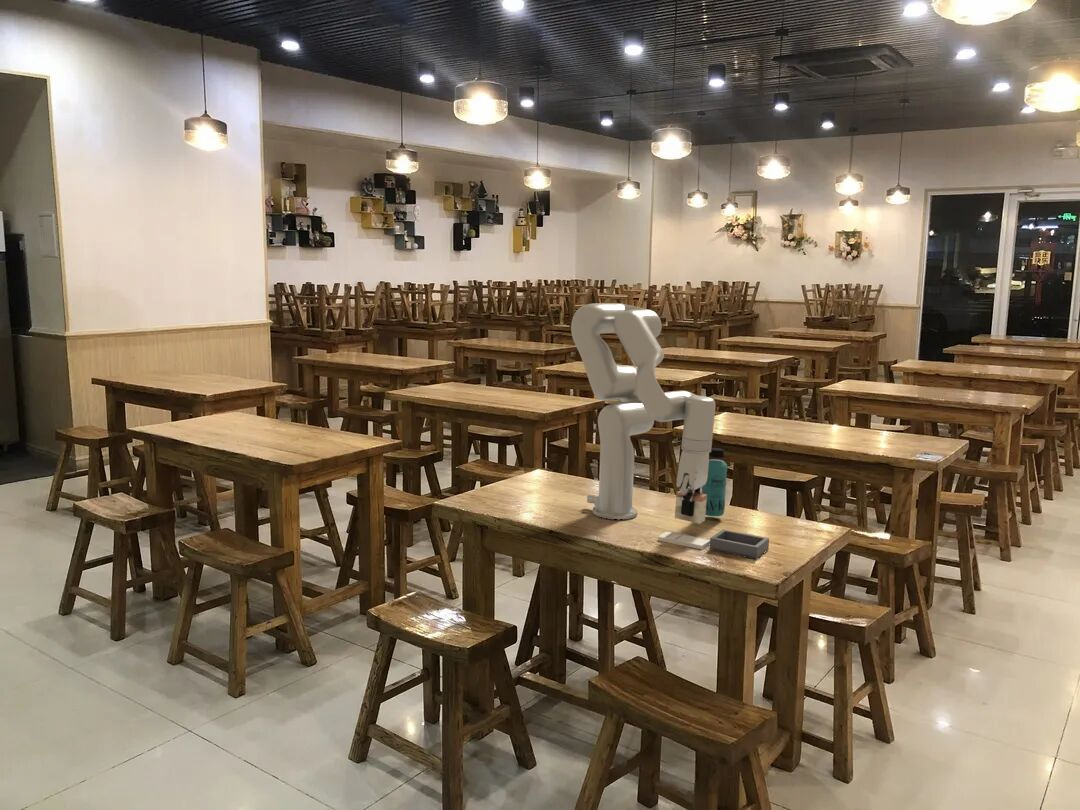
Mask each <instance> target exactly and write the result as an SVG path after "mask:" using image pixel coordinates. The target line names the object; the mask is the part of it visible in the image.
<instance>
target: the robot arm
mask: <svg viewBox="0 0 1080 810" xmlns="http://www.w3.org/2000/svg"><path fill="white" fill-rule="evenodd" d="M662 326H663V325H662V321H661V318H660V317H659V315H658V314H657V313H656V312H655V311H654V310H652V309H647V308H643V307H640V306H635V305H632V304H631V305H630V304H625V303H619V302H615V303H614V302H612V303H609V302H607V303H606V302H599V303H598V302H597V303H595V302H594V303H593V302H592V303H588V304H584V305H582V306H580V307H579V308H578V309H577V310H576V311H575V313H574V314H573V317H572V319H571V326H570V330H571V331H570V333H571V337H572V340H573V343H574V345H575V347H576V349H577V351H578V353H579V356H580V357H581V361H582V364H583V367H584V370H585V373H586V376H587V378H588V379H587V380H588V382H589V385H590V387H591V390H592V393H593V394H594V396H595V398H596V399H598V400H600V401H615V400H620V402H616V403H610V404H608V405H605V406H604V407H603V408H602V409H601V411H600V412H599V414H598V416H597V427H598V433H599V443H600V444H599V446H600V448H599V451H600V453H599V476H598V477H599V478H598V479H599V481H598V483H599V484H598V494H597V495H595V494H590V493H589V494H588V495H587V497H586V502H587V503H589V504H593V505H594V506H593V507H592V511H591V513H592V514H593V515H594V516H596V517H598V518H601V517H602V519H606V518H607V520H614V519H617V520H618V521H619V520H620V519H623V520H630V519H634V518H635V517H637V516H638V509H636V508H635V507H633V495H634V493H633V492H634V473H635V472H634V470H635V469H634V468H635V449H634V445H633V443H632V440H631V436H635V435H642V434H645V433H647V432H649V431H650V430H651V429H652V428H653V426H654V424H655V421H656V422H659V423H667V422H672V421H680V420H683V428H682V439H681V450H682V451H681V454H680V457H679V462H678V463H679V464H678V471H677V477H676V487H677V488H678V489H680V490H681V491H680V490H679V491H680V493H681V494H682V507H681V514H682V515H687V516H693V513H694V503H695V501H693V499H694V492H698V493H703V485H705V484H706V482H707V477H708V466H709V460H710V456H709V453H710V452H711V448H713V447H712V445H713V435H714V424H715V415H716V402H715V399H714V398H712V397H709V396H703V395H697V394H695V393H693V392H689V391H687V390H674V391H672V390H671V391H666V392H664V390H663V389H662V387H661V385H660V384H659V382H658V380H657V377H656V372H655V371H656V367H657V366H658V365H660V364H661V363H662V361H663V360H664V357H665V352H664V350H663V348H662V347H661V346H660V344H659V342H658V340H657V339H656V338H657V337H659V336H660V334H661V332H662V328H663V327H662ZM601 334H616V336H617V337H618V339H619V341H620V343H621V345H622V347H623V349H624V350H625V352H626V354H627V355H628V357H629V359H630V360H631V362H632V364H633V365H634V366H630V365H626V364H624V365H623V364H622V365H617V363H616V361H615V359H614V356H613V353H612V350H611V349H610V346H609V345H608V344H607V343H606V341H605V340H604V339H603V338H602V337H601ZM688 487H689V488H688ZM688 491H690V492H691V495H690V493H689V492H688Z"/></svg>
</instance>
